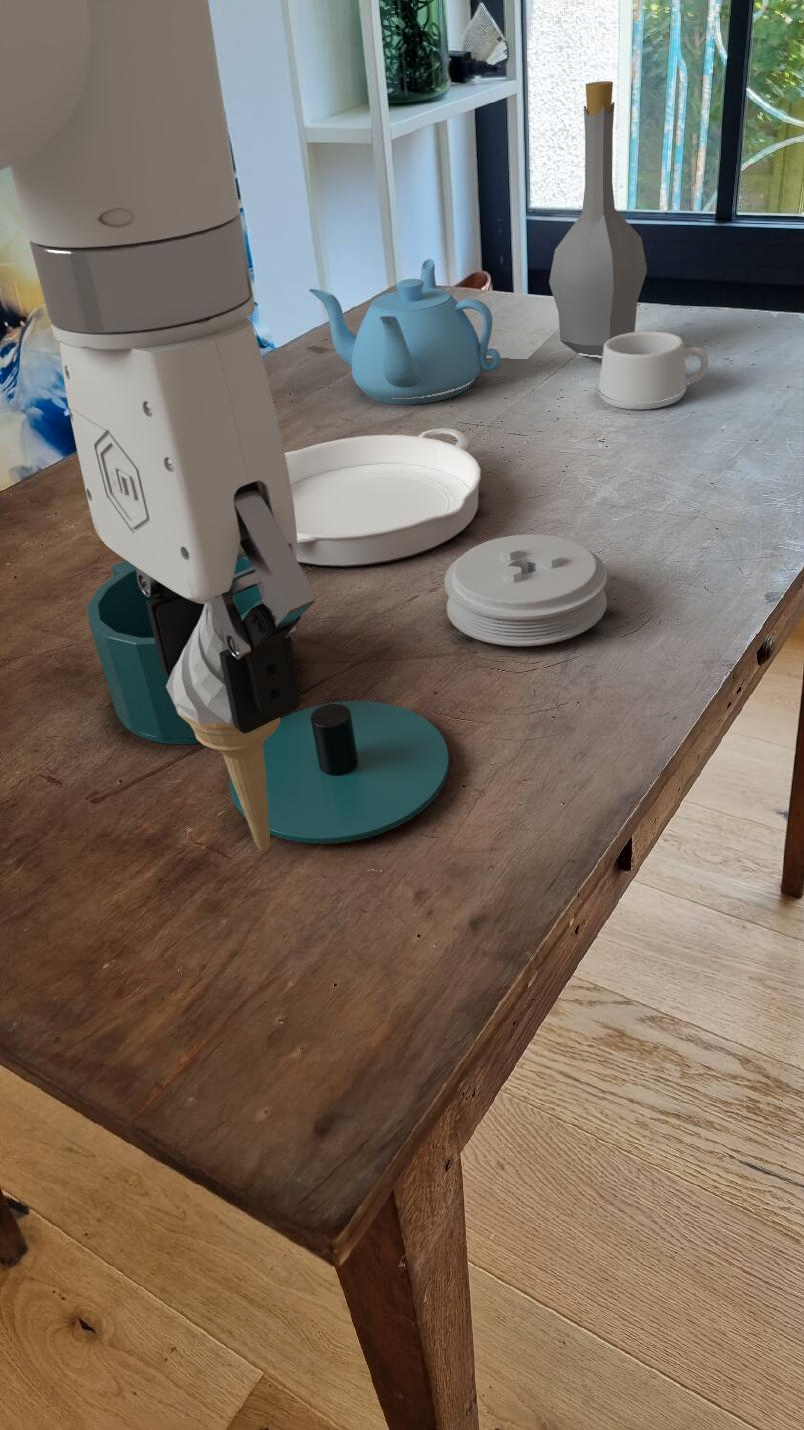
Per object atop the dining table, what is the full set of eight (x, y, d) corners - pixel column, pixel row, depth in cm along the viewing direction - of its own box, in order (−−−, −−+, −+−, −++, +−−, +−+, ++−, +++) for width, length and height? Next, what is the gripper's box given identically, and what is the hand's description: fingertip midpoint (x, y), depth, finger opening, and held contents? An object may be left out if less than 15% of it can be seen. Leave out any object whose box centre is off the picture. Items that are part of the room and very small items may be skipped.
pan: (179, 538, 107) (170, 500, 104) (374, 442, 122) (370, 407, 119) (358, 609, 92) (352, 566, 90) (554, 490, 107) (553, 451, 105)
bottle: (645, 375, 130) (654, 85, 113) (549, 379, 133) (543, 95, 115) (643, 345, 139) (651, 72, 122) (553, 349, 142) (549, 81, 124)
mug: (604, 415, 121) (604, 361, 118) (594, 385, 129) (594, 333, 126) (715, 406, 121) (719, 350, 117) (698, 376, 128) (701, 324, 125)
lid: (491, 565, 96) (488, 512, 93) (630, 591, 90) (631, 535, 87) (419, 637, 87) (413, 582, 85) (567, 670, 82) (566, 612, 79)
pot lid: (314, 886, 66) (301, 821, 63) (192, 778, 75) (176, 717, 73) (495, 775, 73) (491, 711, 70) (361, 689, 82) (353, 630, 79)
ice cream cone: (340, 843, 56) (300, 581, 48) (257, 904, 53) (198, 635, 45) (268, 801, 60) (219, 548, 51) (186, 856, 56) (119, 597, 48)
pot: (191, 786, 75) (163, 682, 70) (72, 679, 87) (41, 585, 83) (352, 702, 81) (336, 601, 76) (218, 613, 94) (198, 522, 89)
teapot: (317, 389, 138) (302, 287, 131) (437, 351, 146) (429, 252, 138) (394, 423, 126) (383, 313, 119) (521, 379, 133) (517, 273, 126)
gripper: (-36, 271, 45) (75, 653, 55) (171, 346, 33) (263, 813, 43) (130, 234, 48) (206, 599, 58) (370, 290, 37) (411, 733, 47)
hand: (229, 687), depth 51 cm, fingers closed on ice cream cone, 5 cm apart
